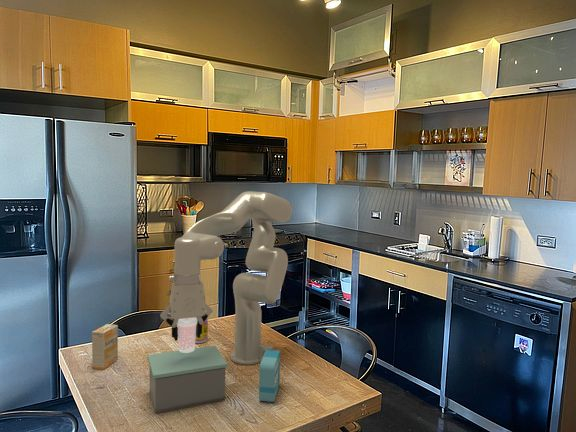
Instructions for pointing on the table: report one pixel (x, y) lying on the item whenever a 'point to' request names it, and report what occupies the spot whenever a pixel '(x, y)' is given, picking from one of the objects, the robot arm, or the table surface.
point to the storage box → (187, 390)
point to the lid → (185, 362)
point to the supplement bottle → (203, 333)
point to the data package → (269, 376)
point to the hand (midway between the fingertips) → (186, 337)
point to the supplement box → (104, 346)
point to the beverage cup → (187, 334)
